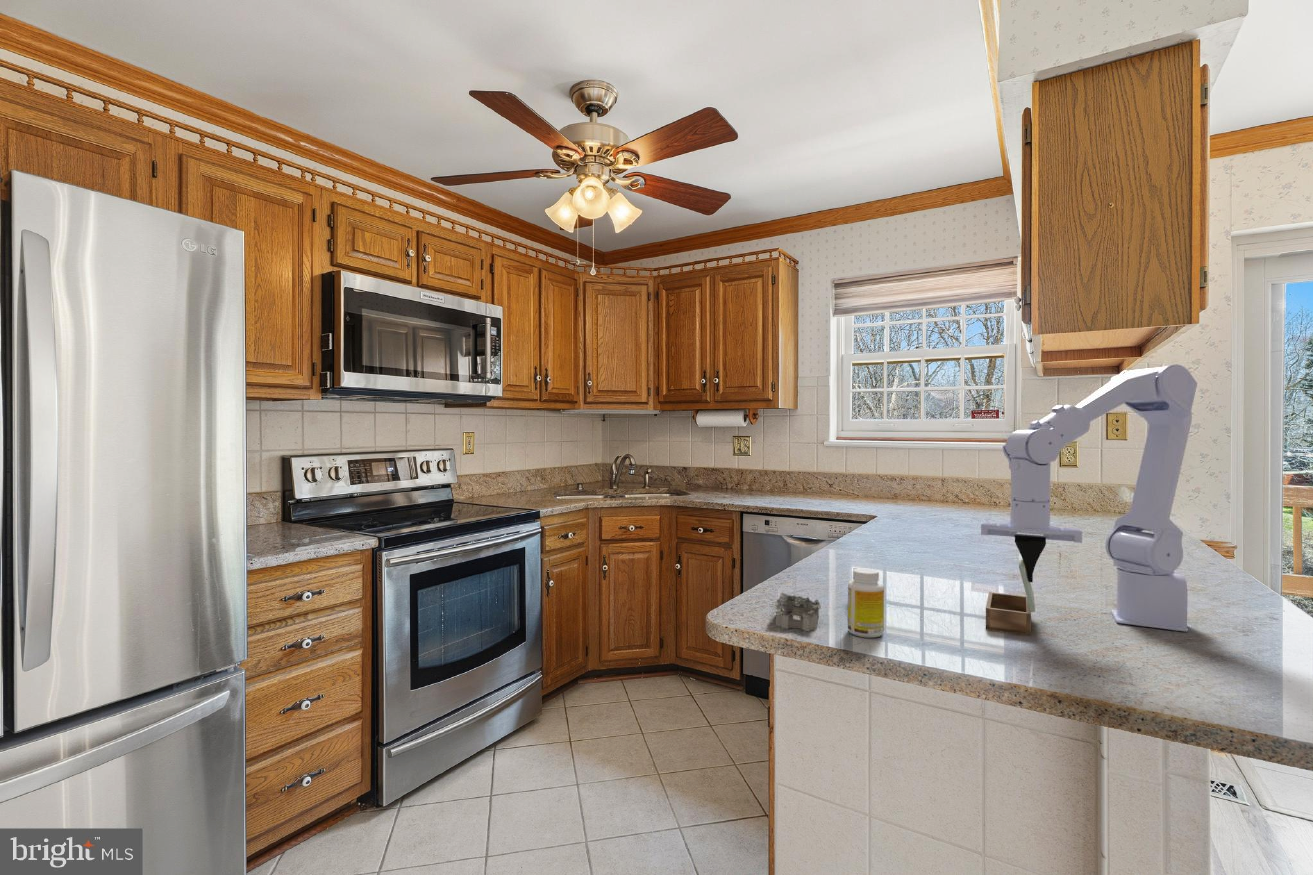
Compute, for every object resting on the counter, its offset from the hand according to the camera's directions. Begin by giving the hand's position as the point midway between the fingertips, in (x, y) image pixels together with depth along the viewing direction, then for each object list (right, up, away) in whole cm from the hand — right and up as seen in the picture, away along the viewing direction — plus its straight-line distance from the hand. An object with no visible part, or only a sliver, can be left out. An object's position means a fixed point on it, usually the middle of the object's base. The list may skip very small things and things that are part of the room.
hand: (1029, 581), depth 105 cm
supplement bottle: (-29, -8, -4) cm, 30 cm away
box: (-2, -8, +2) cm, 8 cm away
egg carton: (-38, -8, +3) cm, 39 cm away
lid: (0, 0, +1) cm, 1 cm away
